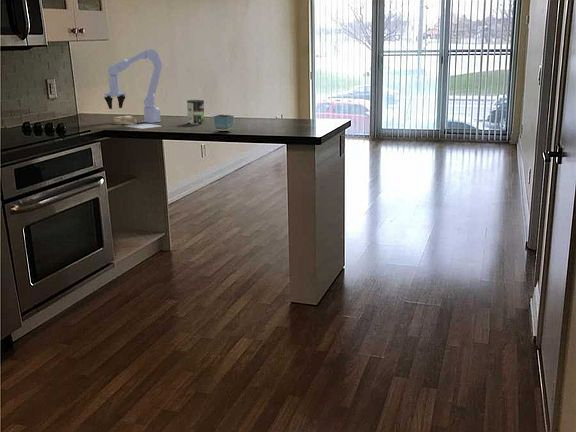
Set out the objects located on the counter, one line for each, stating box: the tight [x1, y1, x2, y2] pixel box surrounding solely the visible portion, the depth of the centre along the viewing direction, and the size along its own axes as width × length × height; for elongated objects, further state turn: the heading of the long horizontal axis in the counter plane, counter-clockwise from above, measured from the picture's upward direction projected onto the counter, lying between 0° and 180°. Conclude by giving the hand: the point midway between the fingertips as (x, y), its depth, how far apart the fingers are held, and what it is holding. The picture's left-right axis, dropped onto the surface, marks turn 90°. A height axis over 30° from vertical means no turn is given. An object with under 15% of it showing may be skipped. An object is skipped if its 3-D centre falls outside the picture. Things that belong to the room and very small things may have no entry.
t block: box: [112, 115, 138, 126], centre depth 365 cm, size 12×12×4 cm
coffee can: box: [186, 99, 205, 124], centre depth 370 cm, size 10×10×14 cm
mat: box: [125, 123, 161, 130], centre depth 357 cm, size 16×16×1 cm
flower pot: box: [213, 114, 234, 129], centre depth 338 cm, size 9×9×9 cm
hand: (115, 108), depth 369 cm, fingers open, 7 cm apart
